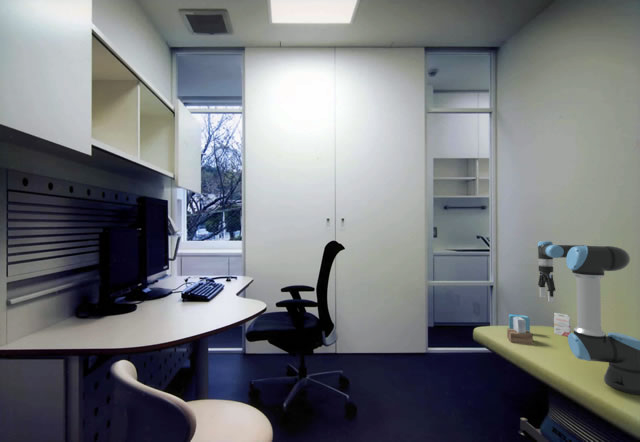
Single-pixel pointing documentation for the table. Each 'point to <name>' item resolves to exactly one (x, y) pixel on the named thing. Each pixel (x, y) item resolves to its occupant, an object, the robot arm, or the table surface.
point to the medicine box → (519, 325)
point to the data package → (526, 318)
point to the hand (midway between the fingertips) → (546, 299)
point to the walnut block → (519, 337)
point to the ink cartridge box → (562, 324)
